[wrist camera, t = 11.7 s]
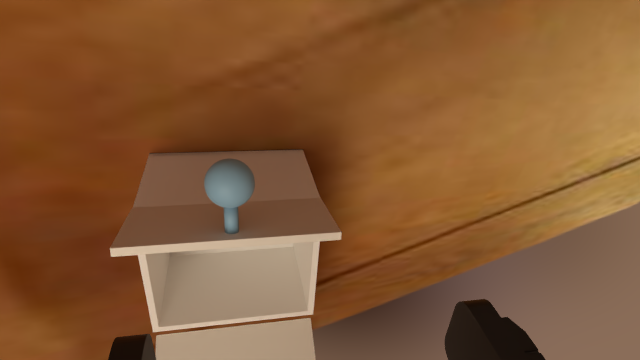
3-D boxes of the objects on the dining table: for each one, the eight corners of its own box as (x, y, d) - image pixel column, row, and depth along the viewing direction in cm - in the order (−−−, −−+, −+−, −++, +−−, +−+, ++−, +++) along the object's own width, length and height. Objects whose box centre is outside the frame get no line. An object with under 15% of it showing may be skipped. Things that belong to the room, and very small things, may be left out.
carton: (302, 149, 46) (323, 205, 37) (296, 247, 53) (313, 314, 44) (149, 153, 43) (130, 216, 34) (165, 257, 50) (153, 332, 41)
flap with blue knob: (320, 204, 37) (322, 138, 35) (342, 241, 30) (345, 162, 28) (133, 214, 33) (124, 142, 32) (110, 259, 27) (97, 171, 25)
